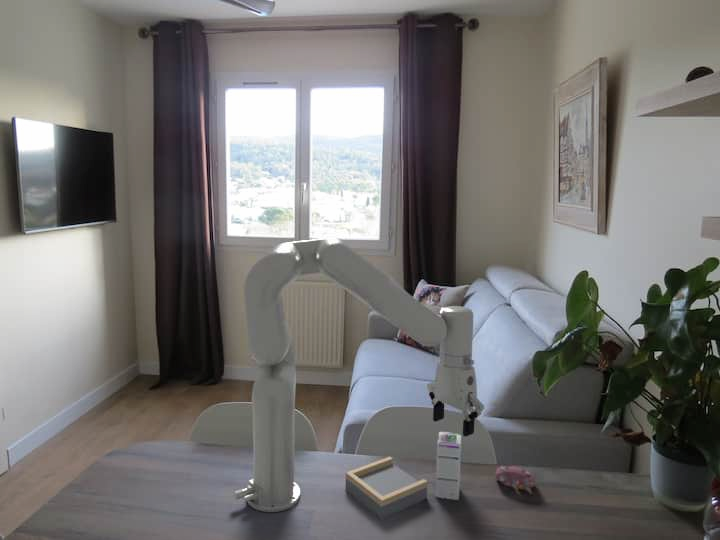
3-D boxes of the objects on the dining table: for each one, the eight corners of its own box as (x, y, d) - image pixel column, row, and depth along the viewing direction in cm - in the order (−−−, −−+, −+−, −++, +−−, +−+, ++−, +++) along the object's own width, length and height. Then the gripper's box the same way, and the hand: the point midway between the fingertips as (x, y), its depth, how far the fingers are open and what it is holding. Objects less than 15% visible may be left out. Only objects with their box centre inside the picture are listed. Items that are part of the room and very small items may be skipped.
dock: (381, 518, 117) (382, 500, 116) (345, 489, 128) (345, 472, 127) (426, 498, 125) (427, 481, 124) (389, 472, 136) (389, 456, 135)
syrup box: (459, 501, 124) (462, 444, 122) (434, 497, 125) (437, 441, 123) (459, 487, 130) (462, 433, 128) (435, 484, 131) (438, 430, 129)
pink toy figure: (493, 489, 132) (494, 472, 129) (495, 474, 136) (496, 457, 132) (534, 498, 129) (536, 481, 125) (535, 482, 133) (537, 465, 129)
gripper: (495, 365, 118) (491, 436, 120) (440, 347, 132) (438, 411, 134) (472, 372, 113) (469, 445, 116) (418, 352, 127) (416, 418, 130)
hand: (452, 427), depth 125 cm, fingers open, 9 cm apart
